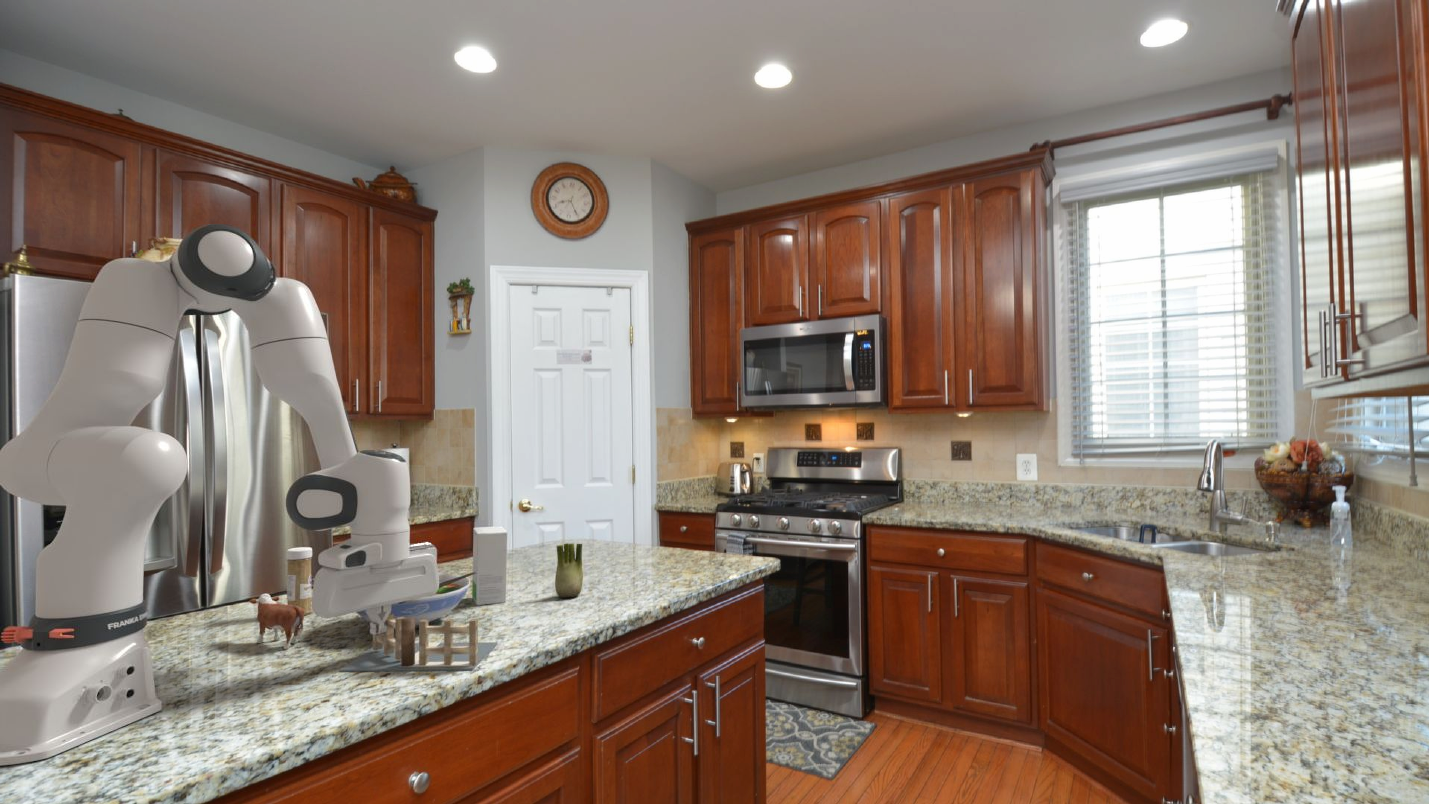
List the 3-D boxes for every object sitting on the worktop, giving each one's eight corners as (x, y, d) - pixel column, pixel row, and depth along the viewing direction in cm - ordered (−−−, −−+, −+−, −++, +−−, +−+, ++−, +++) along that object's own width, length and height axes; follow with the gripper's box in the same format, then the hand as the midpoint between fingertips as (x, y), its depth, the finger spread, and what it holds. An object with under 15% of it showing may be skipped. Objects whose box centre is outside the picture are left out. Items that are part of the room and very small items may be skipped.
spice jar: (312, 614, 145) (312, 548, 145) (286, 618, 142) (287, 551, 143) (310, 609, 149) (311, 545, 149) (285, 613, 146) (285, 547, 146)
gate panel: (405, 657, 115) (405, 617, 115) (398, 659, 114) (398, 619, 115) (379, 647, 121) (380, 608, 121) (372, 649, 120) (372, 610, 120)
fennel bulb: (583, 594, 160) (583, 540, 161) (580, 599, 155) (580, 544, 156) (557, 594, 160) (557, 541, 160) (554, 600, 155) (553, 545, 155)
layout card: (472, 670, 112) (472, 667, 112) (339, 671, 112) (339, 669, 112) (497, 643, 125) (497, 641, 125) (377, 645, 125) (377, 643, 125)
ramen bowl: (402, 604, 152) (402, 566, 153) (497, 610, 147) (497, 571, 147) (309, 639, 128) (309, 594, 128) (417, 648, 123) (417, 601, 123)
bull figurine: (269, 634, 132) (269, 590, 132) (310, 645, 125) (310, 599, 125) (243, 640, 128) (244, 595, 128) (284, 652, 121) (284, 604, 121)
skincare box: (471, 597, 158) (471, 527, 158) (502, 594, 161) (502, 525, 161) (476, 606, 150) (476, 532, 151) (508, 602, 153) (508, 530, 154)
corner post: (411, 668, 113) (411, 621, 113) (399, 668, 113) (399, 621, 113) (416, 664, 115) (417, 617, 115) (404, 664, 115) (404, 617, 115)
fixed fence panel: (478, 662, 114) (477, 618, 114) (475, 665, 113) (475, 620, 113) (422, 663, 114) (422, 619, 114) (419, 665, 113) (419, 621, 113)
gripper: (426, 538, 127) (424, 615, 127) (307, 555, 111) (305, 645, 110) (447, 542, 124) (445, 621, 123) (328, 560, 107) (326, 652, 107)
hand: (378, 632), depth 117 cm, fingers closed, pressing on gate panel
